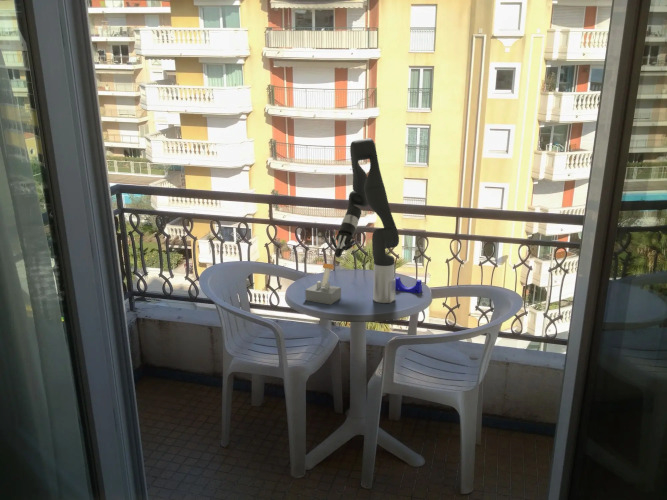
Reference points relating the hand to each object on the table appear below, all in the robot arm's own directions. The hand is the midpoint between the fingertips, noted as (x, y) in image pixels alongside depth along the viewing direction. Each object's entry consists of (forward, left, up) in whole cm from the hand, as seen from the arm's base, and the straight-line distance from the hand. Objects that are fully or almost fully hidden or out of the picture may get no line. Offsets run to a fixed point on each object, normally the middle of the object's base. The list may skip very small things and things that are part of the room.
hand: (337, 256), depth 278 cm
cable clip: (-30, -15, -17) cm, 38 cm away
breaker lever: (0, +14, -12) cm, 18 cm away
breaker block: (0, +14, -17) cm, 22 cm away
